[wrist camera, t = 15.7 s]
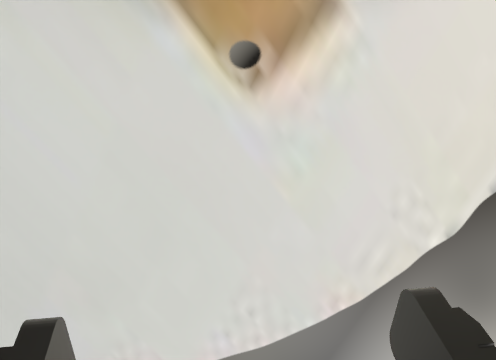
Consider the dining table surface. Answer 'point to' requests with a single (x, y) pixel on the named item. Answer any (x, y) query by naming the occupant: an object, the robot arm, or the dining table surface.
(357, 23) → the dining table surface
